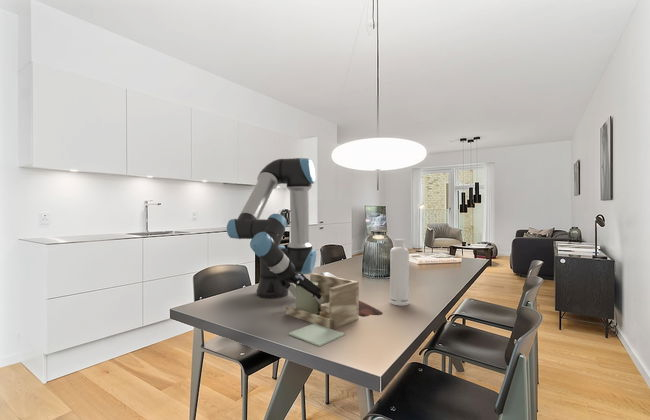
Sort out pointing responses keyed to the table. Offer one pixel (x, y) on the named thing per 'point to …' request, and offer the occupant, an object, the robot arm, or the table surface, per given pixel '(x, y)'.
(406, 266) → the bottle
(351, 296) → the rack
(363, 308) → the wooden tablet
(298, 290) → the can
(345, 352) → the table surface
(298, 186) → the robot arm
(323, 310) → the offcut stack
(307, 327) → the mat
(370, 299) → the table surface
